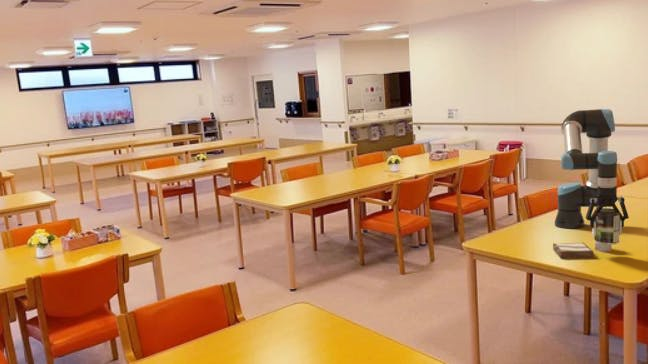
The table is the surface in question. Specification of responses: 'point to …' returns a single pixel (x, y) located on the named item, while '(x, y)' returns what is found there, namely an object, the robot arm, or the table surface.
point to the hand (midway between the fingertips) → (606, 234)
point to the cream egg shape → (603, 247)
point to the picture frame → (572, 250)
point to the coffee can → (607, 226)
